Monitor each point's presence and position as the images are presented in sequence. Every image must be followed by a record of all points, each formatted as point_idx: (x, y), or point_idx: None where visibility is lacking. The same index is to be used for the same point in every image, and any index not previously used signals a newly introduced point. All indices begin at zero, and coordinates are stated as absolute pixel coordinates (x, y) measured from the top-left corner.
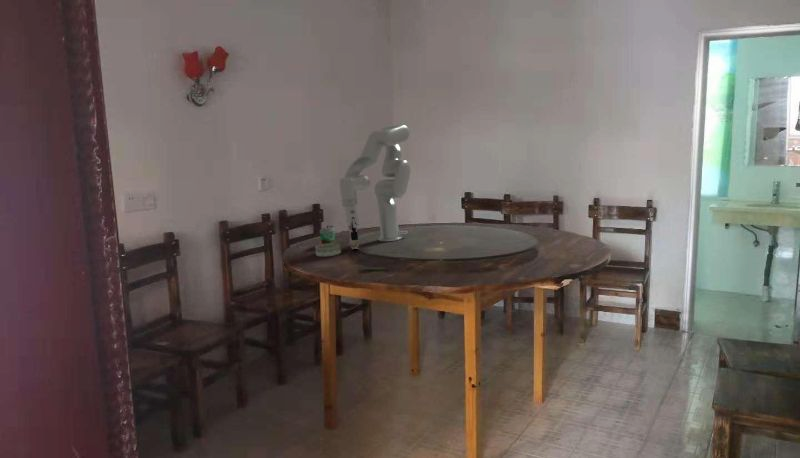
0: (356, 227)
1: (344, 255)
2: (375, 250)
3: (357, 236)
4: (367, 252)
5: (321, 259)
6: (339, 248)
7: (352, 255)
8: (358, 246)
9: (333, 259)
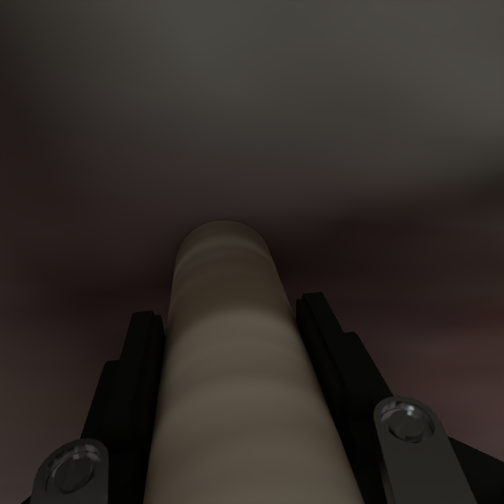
0: (309, 485)
1: (423, 362)
2: (442, 19)
3: (335, 322)
4: (474, 143)
5: None
6: None
7: (484, 301)
8: (251, 238)
9: (500, 431)
